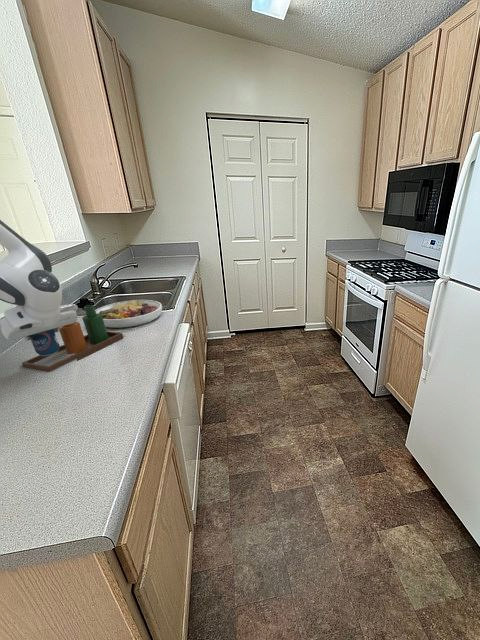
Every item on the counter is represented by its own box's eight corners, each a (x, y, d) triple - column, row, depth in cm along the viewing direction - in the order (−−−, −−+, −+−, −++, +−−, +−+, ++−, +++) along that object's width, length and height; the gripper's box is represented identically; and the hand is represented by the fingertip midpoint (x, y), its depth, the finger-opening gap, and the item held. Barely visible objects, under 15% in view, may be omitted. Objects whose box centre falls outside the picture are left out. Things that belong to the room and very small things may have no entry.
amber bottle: (67, 357, 121) (52, 318, 115) (69, 350, 127) (55, 313, 120) (87, 353, 124) (74, 315, 117) (88, 347, 129) (76, 310, 123)
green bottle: (90, 346, 130) (78, 309, 123) (91, 340, 135) (79, 305, 128) (109, 343, 133) (98, 307, 126) (109, 337, 138) (99, 302, 131)
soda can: (34, 358, 111) (20, 324, 106) (39, 350, 117) (26, 318, 111) (59, 354, 113) (46, 321, 108) (62, 346, 119) (50, 315, 114)
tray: (50, 374, 110) (48, 367, 109) (24, 368, 114) (21, 362, 113) (123, 338, 137) (122, 333, 136) (100, 335, 141) (98, 329, 140)
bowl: (79, 326, 151) (73, 309, 147) (130, 306, 176) (127, 292, 172) (129, 334, 141) (125, 316, 138) (176, 312, 166) (173, 297, 163)
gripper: (72, 295, 111) (69, 318, 120) (-4, 312, 96) (-1, 336, 105) (83, 310, 110) (79, 332, 120) (8, 330, 95) (10, 352, 105)
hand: (41, 334), depth 112 cm, fingers closed on soda can, 7 cm apart
